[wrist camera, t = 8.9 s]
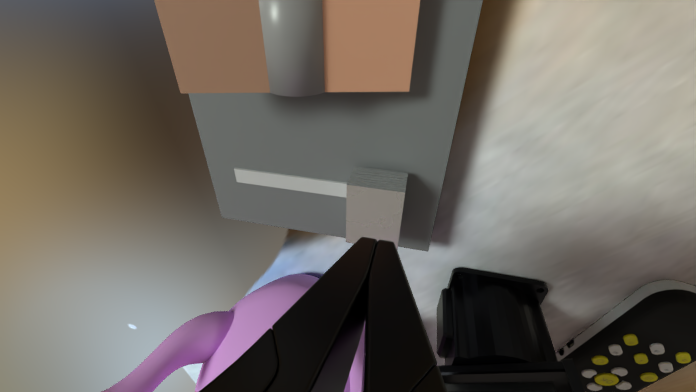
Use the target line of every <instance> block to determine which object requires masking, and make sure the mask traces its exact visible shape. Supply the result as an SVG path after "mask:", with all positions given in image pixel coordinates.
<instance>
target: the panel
mask: <svg viewBox="0 0 696 392" xmlns="http://www.w3.org/2000/svg"><path fill="white" fill-rule="evenodd" d="M482 2H483V0H420V7H419V15H418V23H417V31H416V39H415V48H414V56H413V64H412V72H411V80H410V89H409V92H324V93H321V94H317V95H312V96H302V97H290V96H280V95H276V94H272V93H188V94H189V97H190V101H191V105H192V109H193V112H194V116H195V119H196V123H197V127H198V131H199V134H200V138H201V142H202V146H203V149H204V153H205V156H206V160H207V164H208V168H209V171H210V175H211V179H212V182H213V186H214V190H215V193H216V197H217V201H218V204H219V208H220V212H221V215H222V217H223V218H229V219H235V220H241V221H247V222H253V223H259V224H265V225H271V226H277V227H283V228H289V229H295V230H301V231H307V232H313V233H319V234H326V235H332V236H338V237H344V238H346V197H347V183H348V181H349V178H350V176H351V174H352V171H353V169H354V167H355V166H357V167H365V168H373V169H381V170H389V171H397V172H405V173H408V177H407V184H406V191H405V198H404V205H403V212H402V219H401V227H400V234H399V241H398V247H404V248H410V249H416V250H422V251H428V250H429V245H430V241H431V236H432V231H433V227H434V222H435V218H436V213H437V208H438V204H439V199H440V195H441V190H442V185H443V181H444V176H445V172H446V167H447V163H448V158H449V153H450V149H451V144H452V140H453V135H454V130H455V126H456V121H457V117H458V112H459V107H460V103H461V98H462V94H463V89H464V85H465V80H466V75H467V71H468V66H469V62H470V57H471V52H472V48H473V43H474V39H475V34H476V29H477V25H478V20H479V16H480V11H481V6H482Z"/></svg>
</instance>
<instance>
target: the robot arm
mask: <svg viewBox="0 0 696 392" xmlns="http://www.w3.org/2000/svg"><path fill="white" fill-rule="evenodd" d="M458 274H461V275H458ZM547 292H548V288H547V285H546V283H544V282H541V281H536V280H530V279H524V278H518V277H512V276H507V275H501V274H495V273H489V272H483V271H477V270H471V269H466V268H455V269H453V271H452V274H451V277H450V281H449V284H448V288H445V289H443V290H442V292H441V296H440V300H439V303H438V307H437V354H438V355H439V357H441V358H445V365H444V366H436V365H437V361H436V358H435V356H434V353H433V350H432V347H431V344H430V342H429V339H428V336H427V333H426V330H425V328H424V325H423V322H422V319H421V316H420V314H419V311H418V308H417V305H416V302H415V299H414V297H413V294H412V291H411V288H410V285H409V283H408V280H407V277H406V274H405V271H404V269H403V266H402V263H401V260H400V257H399V255H398V252H397V249H396V246H395V244H394V242H392V241H386V240H378V241H377V240H376V239H374V238H368V237H361V238H360V239H359V240H358V241H357V242H356V243H355V244H354V245H353V246H352V247H351V248H350V249H349V250H348V251H347V252H346V253H345V254H344V255H343V256H342V257H341V258H340V259H339V260H338V261H337V262H336V263H335V264H334V265H333V266H332V267H331V268H330V269H329V270H328V271H327V272H326V273H325V274H324V275H323V276H322V277H321V278H320V279H319V280H318V281H317V282H316V283H315V284H313V285H312V286H311V287H310V288H309V289H308V290H307V291H306V292H305V293H304V294H303V295H302V296H301V297H300V298H299V299H298V300H297V301H296V302H295V303H294V304H293V305H292V306H291V307H290V308H289V309H288V310H287V311H286V312H285V313H284V314H283V315H282V316H281V317H280V318H279V319H278V320H277V321H276V322H275V323H274V324H273V325H272V328H269V329H268V330H267V331H266V332H265V333H264V334H263V335H262V336H261V337H260V338H259V339H258V340H257V341H256V342H255V343H254V344H253V345H252V346H251V347H250V348H249V349H248V350H247V351H245V352H244V353H243V354H242V355H241V356H240V357H239V358H238V359H237V360H236V361H235V362H234V363H232V364H231V365H230V366H229V367H228V368H226V369H225V370H224V371H223V372H222V373H221V374H219V375H218V376H217V377H216V378H215V379H214V380H212V381H211V382H210V383H209V384H207V385H206V386H205V387H204V388H203V389H201V390H200V391H199V392H344V390H345V386H346V383H347V380H348V377H349V373H350V370H351V367H352V364H353V361H354V357H355V354H356V351H357V348H358V344H359V341H360V338H361V335H362V331H363V328H364V324H365V333H364V351H363V370H362V388H361V392H585V391H584V388H583V385H582V383H581V380H580V378H579V375H578V372H577V370H576V367H575V364H574V362H573V359H562V361H558V360H557V357H556V354H555V350H554V347H553V344H552V341H551V338H550V335H549V332H548V328H547V325H546V322H545V319H544V316H543V313H542V309H541V306H540V305H541V303H542V301H543V299H544V298H545V296H546V294H547ZM365 319H366V320H365Z"/></svg>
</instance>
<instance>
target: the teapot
mask: <svg viewBox="0 0 696 392" xmlns="http://www.w3.org/2000/svg"><path fill="white" fill-rule="evenodd" d="M319 279H320V278H317V277H314V276H311V275H306V274H293V275H288V276H285V277H282V278H279V279H277V280H275V281H272V282H270V283H268V284H266V285H264V286H262V287H261V288H259V289H257V290H255V291H253V292H252V293H250V294H248V295H247V296H245V297H244V298H242V299H241V300H240V301H239V302H238V303H236V304H235V305H234V306H233V307H232V308H231V309H230V310H229V311H220V312H218V311H217V312H211V313H207V314H203V315H200V316H197V317H196V318H194V319H192V320H190V321H188V322H186V323H184V325H182V326H180V327H179V328H178V329H176V330H175V331H174V332H173V333H172V334H171V335H169V336H168V337H167V338H166V339H165V340H164V341H163V342H162V343H161V344H160V345H159V346H158V347H157V348H156V349H155V350H154V351H153V352H152V353H151V354H150V355H149V356H148V357H147V358H146V359H145V360H144V361H143V362H142V363H141V364H140V365H139V366H138V367H137V368H136V369H135V370H133V371H132V372H131V373H130V374H129V375H128V376H126V377H125V378H124V379H122V380H121V381H119V382H118V383H116V384H115V385H113V386H112V387H110V388H109V389H107V390H104V391H102V392H153V391H154V390H155V388H156V387H157V386H158V385H159V384H160V383H161V382H162V381H163V380H164V379H165V378H166V377H167V376H168V375H170V374H171V373H172V372H174V371H175V370H177V369H178V368H180V367H183V366H186V365H188V364H196V363H203V364H202V368H201V371H200V374H199V377H198V380H197V384H196V388H195V392H199V391H200V390H201V389H203V388H204V387H205V386H206V385H207V384H209V383H210V382H211V381H212V380H214V379H215V378H216V377H217V376H218V375H219V374H221V373H222V372H223V371H224V370H225V369H226V368H228V367H229V366H230V365H231V364H232V363H234V362H235V361H236V360H237V359H238V358H239V357H240V356H241V355H242V354H243V353H244V352H245V351H247V350H248V349H249V348H250V347H251V346H252V345H253V344H254V343H255V342H256V341H257V340H258V339H259V338H260V337H261V336H262V335H263V334H264V333H265V332H266V331H267V330H268V329H269V328H272V325H273V324H274V323H275V322H276V321H277V320H278V319H279V318H280V317H281V316H282V315H283V314H284V313H285V312H286V311H287V310H288V309H289V308H290V307H291V306H292V305H293V304H294V303H295V302H296V301H297V300H298V299H299V298H300V297H301V296H302V295H303V294H304V293H305V292H306V291H307V290H308V289H309V288H310V287H311V286H312V285H313V284H315V283H316V282H317V281H318V280H319ZM365 320H366V319H365ZM364 333H365V324H364V328H363V331H362V335H361V338H360V341H359V344H358V348H357V351H356V354H355V357H354V361H353V364H352V367H351V370H350V373H349V377H348V380H347V383H346V386H345V390H344V392H361V388H362V370H363V351H364Z"/></svg>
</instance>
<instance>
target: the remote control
mask: <svg viewBox="0 0 696 392" xmlns="http://www.w3.org/2000/svg"><path fill="white" fill-rule="evenodd" d="M561 349H563V350H561ZM561 349H560V350H559V351H558V352H556V353H555V354H556V357H557V360H558V361H562V359H573V362H574V364H575V367H576V370H577V372H578V375H579V378H580V380H581V383H582V385H583V388H584V391H585V392H637V391H639V390H641V389H643V388H645V387H647V386H649V385H650V384H652V383H654V382H656V381H658V380H660V379H662V378H664V377H666V376H668V375H669V374H671V373H673V372H675V371H677V370H679V369H681V368H683V367H685V366H687V365H688V364H690V363H692V362H694V361H696V286H693V285H690V284H687V283H684V282H681V281H676V280H659V281H655V282H651V283H649V284H646V285H644V286H642V287H641V288H639V289H638V290H637V291H635V292H634V293H633V294H632V295H630V296H629V297H628V298H626V299H625V300H624V301H623V302H621V303H620V304H619V305H617V306H616V307H615V308H613V309H612V310H611V311H610V312H608V313H607V314H606V315H604V316H603V317H602V318H600V319H599V320H598V321H597V322H595V323H594V324H593V325H591V326H590V327H589V328H588V329H586V330H585V331H584V332H582V333H581V334H580V335H578V336H577V337H576V338H575V339H572V340H571V341H570V342H569V343H567V344H566V346H564V347H563V348H561Z"/></svg>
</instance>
